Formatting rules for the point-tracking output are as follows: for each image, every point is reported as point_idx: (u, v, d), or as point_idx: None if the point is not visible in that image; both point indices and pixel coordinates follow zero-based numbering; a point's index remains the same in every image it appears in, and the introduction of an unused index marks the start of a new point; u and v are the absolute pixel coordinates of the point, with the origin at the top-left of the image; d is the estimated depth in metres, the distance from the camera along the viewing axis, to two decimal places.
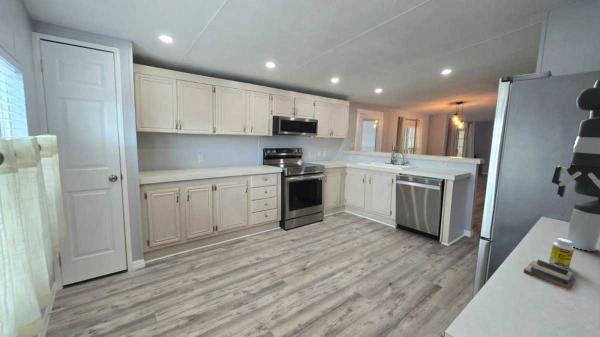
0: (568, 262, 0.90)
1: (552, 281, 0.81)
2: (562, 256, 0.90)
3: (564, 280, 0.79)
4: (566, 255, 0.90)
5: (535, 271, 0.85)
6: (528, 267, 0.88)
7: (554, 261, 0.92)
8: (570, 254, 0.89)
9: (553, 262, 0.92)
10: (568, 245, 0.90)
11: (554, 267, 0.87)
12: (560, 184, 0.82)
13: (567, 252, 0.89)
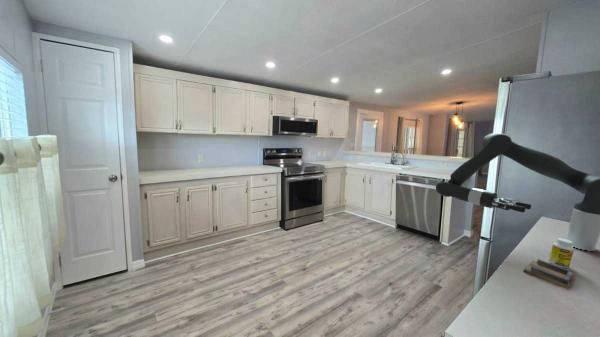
0: (568, 262, 0.90)
1: (552, 281, 0.81)
2: (562, 256, 0.90)
3: (564, 280, 0.79)
4: (566, 255, 0.90)
5: (535, 271, 0.85)
6: (528, 267, 0.88)
7: (554, 261, 0.92)
8: (570, 254, 0.89)
9: (553, 262, 0.92)
10: (568, 245, 0.90)
11: (554, 267, 0.87)
12: None
13: (567, 252, 0.89)
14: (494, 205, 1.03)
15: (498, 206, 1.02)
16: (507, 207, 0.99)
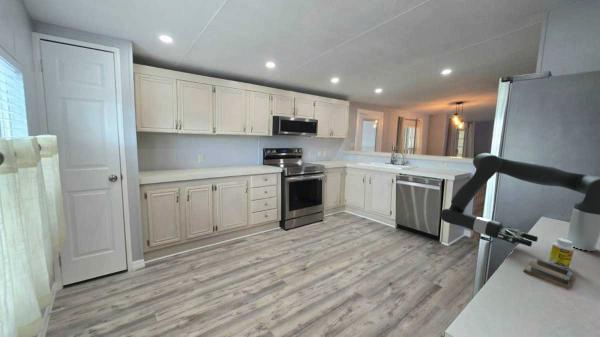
0: (568, 262, 0.90)
1: (552, 281, 0.81)
2: (562, 256, 0.90)
3: (564, 280, 0.79)
4: (566, 255, 0.90)
5: (535, 271, 0.85)
6: (528, 267, 0.88)
7: (554, 261, 0.92)
8: (570, 254, 0.89)
9: (553, 262, 0.92)
10: (568, 245, 0.90)
11: (554, 267, 0.87)
12: None
13: (567, 252, 0.89)
14: (500, 237, 1.02)
15: (504, 238, 1.01)
16: (513, 240, 0.98)
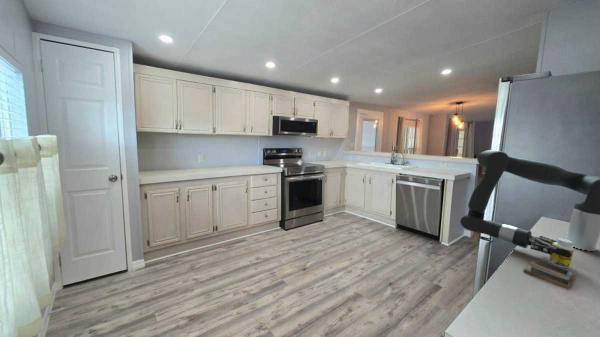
0: (568, 262, 0.90)
1: (552, 281, 0.81)
2: (562, 256, 0.90)
3: (564, 280, 0.79)
4: None
5: (535, 271, 0.85)
6: (528, 267, 0.88)
7: (554, 261, 0.92)
8: None
9: (553, 262, 0.92)
10: (568, 245, 0.90)
11: (554, 267, 0.87)
12: None
13: None
14: (534, 248, 0.94)
15: (539, 249, 0.93)
16: (550, 251, 0.91)
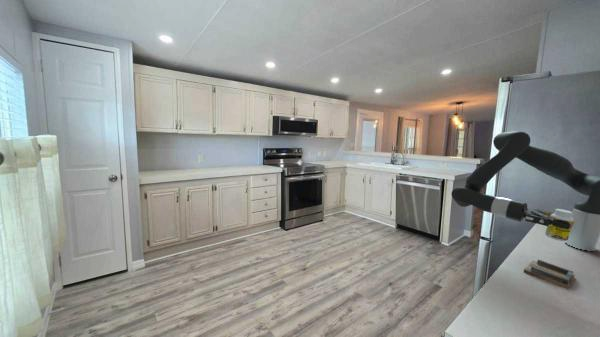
0: (567, 234, 0.81)
1: (552, 281, 0.81)
2: (560, 228, 0.81)
3: (564, 280, 0.79)
4: None
5: (535, 271, 0.85)
6: (528, 267, 0.88)
7: (551, 234, 0.83)
8: None
9: (550, 235, 0.83)
10: (567, 215, 0.80)
11: (554, 267, 0.87)
12: None
13: None
14: (529, 220, 0.84)
15: (535, 221, 0.83)
16: (547, 222, 0.81)
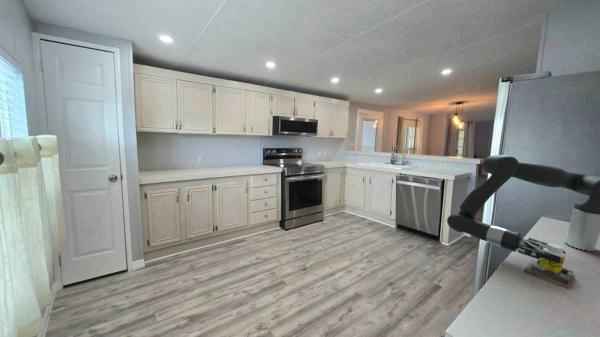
0: (559, 270, 0.82)
1: (552, 281, 0.81)
2: (553, 263, 0.82)
3: (564, 280, 0.79)
4: None
5: (535, 271, 0.85)
6: (528, 267, 0.88)
7: (544, 268, 0.84)
8: (561, 261, 0.82)
9: None
10: (559, 251, 0.82)
11: None
12: None
13: None
14: (521, 251, 0.86)
15: (526, 253, 0.85)
16: (538, 255, 0.83)
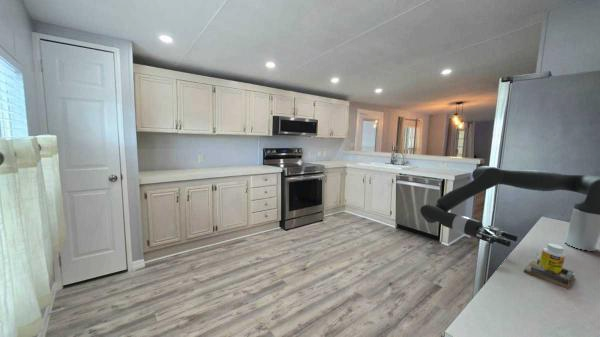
0: (559, 270, 0.82)
1: (552, 281, 0.81)
2: (553, 263, 0.82)
3: (564, 280, 0.79)
4: (557, 262, 0.82)
5: (535, 271, 0.85)
6: (528, 267, 0.88)
7: (544, 268, 0.84)
8: (561, 262, 0.82)
9: None
10: (559, 251, 0.82)
11: None
12: None
13: (558, 259, 0.82)
14: (478, 237, 0.97)
15: (482, 238, 0.95)
16: (492, 240, 0.93)
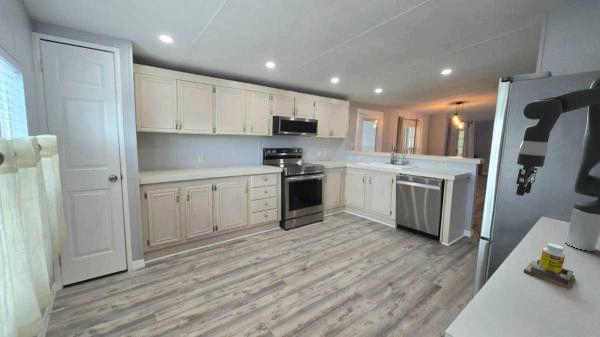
0: (559, 270, 0.82)
1: (552, 281, 0.81)
2: (553, 263, 0.82)
3: (564, 280, 0.79)
4: (557, 262, 0.82)
5: (535, 271, 0.85)
6: (528, 267, 0.88)
7: (544, 268, 0.84)
8: (561, 261, 0.82)
9: (543, 269, 0.85)
10: (559, 251, 0.82)
11: None
12: None
13: (558, 259, 0.82)
14: (521, 171, 0.89)
15: (520, 175, 0.90)
16: (520, 183, 0.90)
